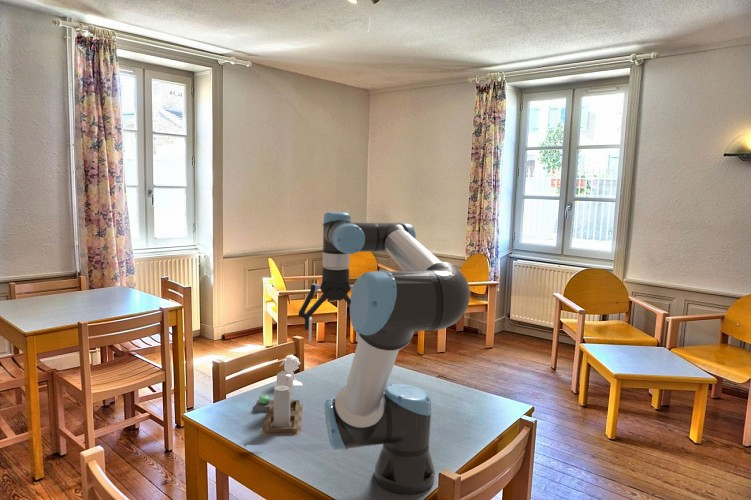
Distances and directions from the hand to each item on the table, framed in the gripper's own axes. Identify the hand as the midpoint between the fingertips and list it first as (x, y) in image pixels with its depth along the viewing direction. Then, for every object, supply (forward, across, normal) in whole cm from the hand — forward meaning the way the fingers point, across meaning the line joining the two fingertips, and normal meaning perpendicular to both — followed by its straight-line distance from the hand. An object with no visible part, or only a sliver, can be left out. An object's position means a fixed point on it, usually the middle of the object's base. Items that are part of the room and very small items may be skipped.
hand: (334, 340), depth 145 cm
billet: (+27, +14, -13) cm, 33 cm away
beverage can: (+27, +15, -3) cm, 31 cm away
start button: (+25, +21, -16) cm, 36 cm away
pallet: (+29, +16, -8) cm, 34 cm away
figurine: (+29, +14, -34) cm, 47 cm away
